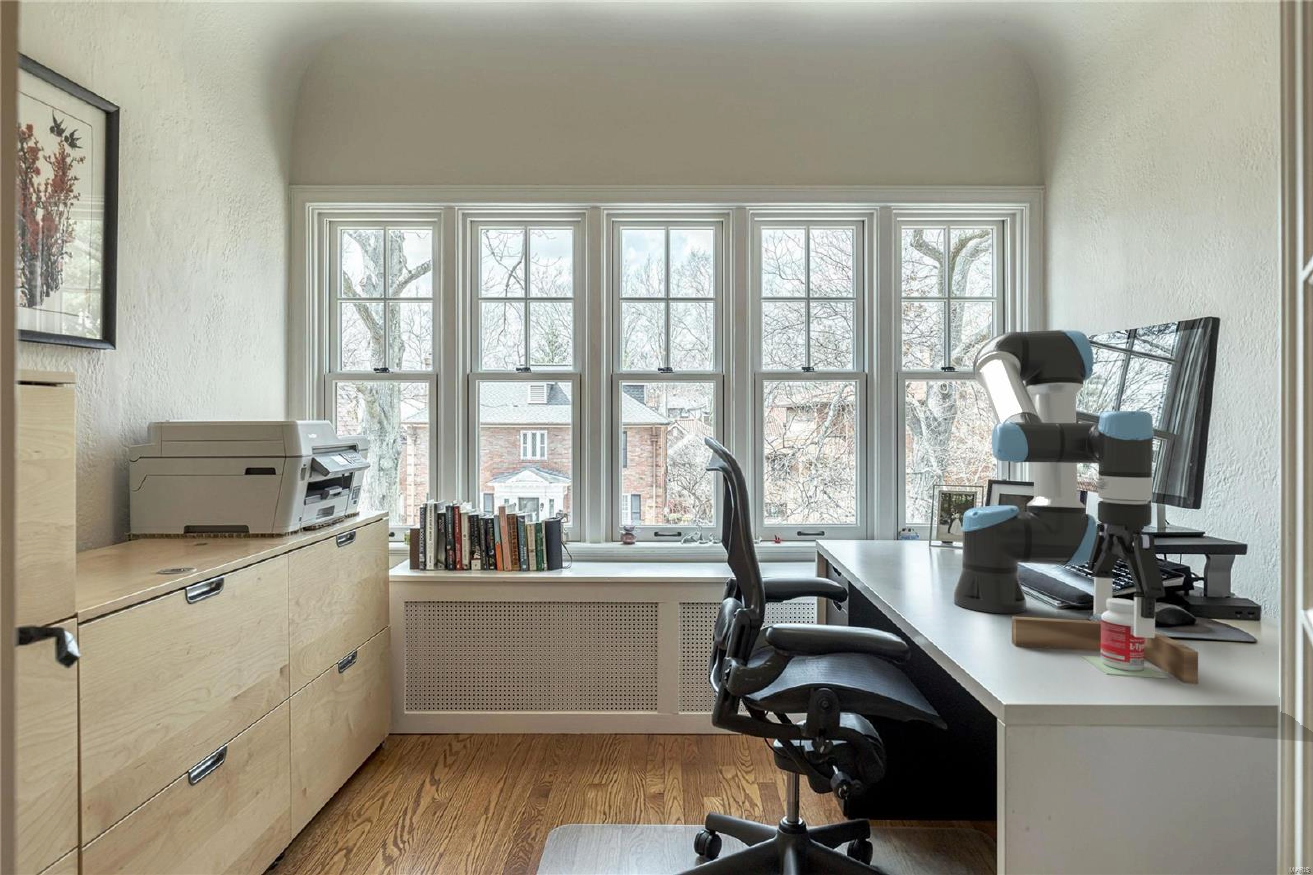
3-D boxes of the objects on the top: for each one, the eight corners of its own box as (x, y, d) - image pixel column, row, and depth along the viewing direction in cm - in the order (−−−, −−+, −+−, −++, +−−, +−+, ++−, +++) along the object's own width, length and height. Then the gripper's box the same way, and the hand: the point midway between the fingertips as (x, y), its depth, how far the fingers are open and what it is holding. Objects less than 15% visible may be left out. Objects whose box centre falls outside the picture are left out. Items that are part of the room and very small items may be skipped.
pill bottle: (1135, 674, 109) (1135, 607, 109) (1093, 663, 114) (1094, 599, 114) (1150, 667, 112) (1151, 602, 112) (1110, 657, 118) (1110, 595, 118)
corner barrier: (1011, 642, 126) (1012, 616, 126) (1139, 650, 123) (1140, 623, 123) (1048, 673, 110) (1048, 643, 110) (1197, 683, 106) (1198, 652, 106)
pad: (1081, 657, 118) (1082, 655, 118) (1137, 660, 117) (1137, 659, 117) (1107, 674, 109) (1107, 673, 109) (1167, 678, 108) (1167, 677, 108)
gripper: (1068, 493, 126) (1066, 604, 126) (1139, 509, 102) (1137, 646, 102) (1111, 494, 125) (1109, 606, 125) (1194, 510, 100) (1192, 649, 101)
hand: (1122, 624), depth 114 cm, fingers open, 13 cm apart
